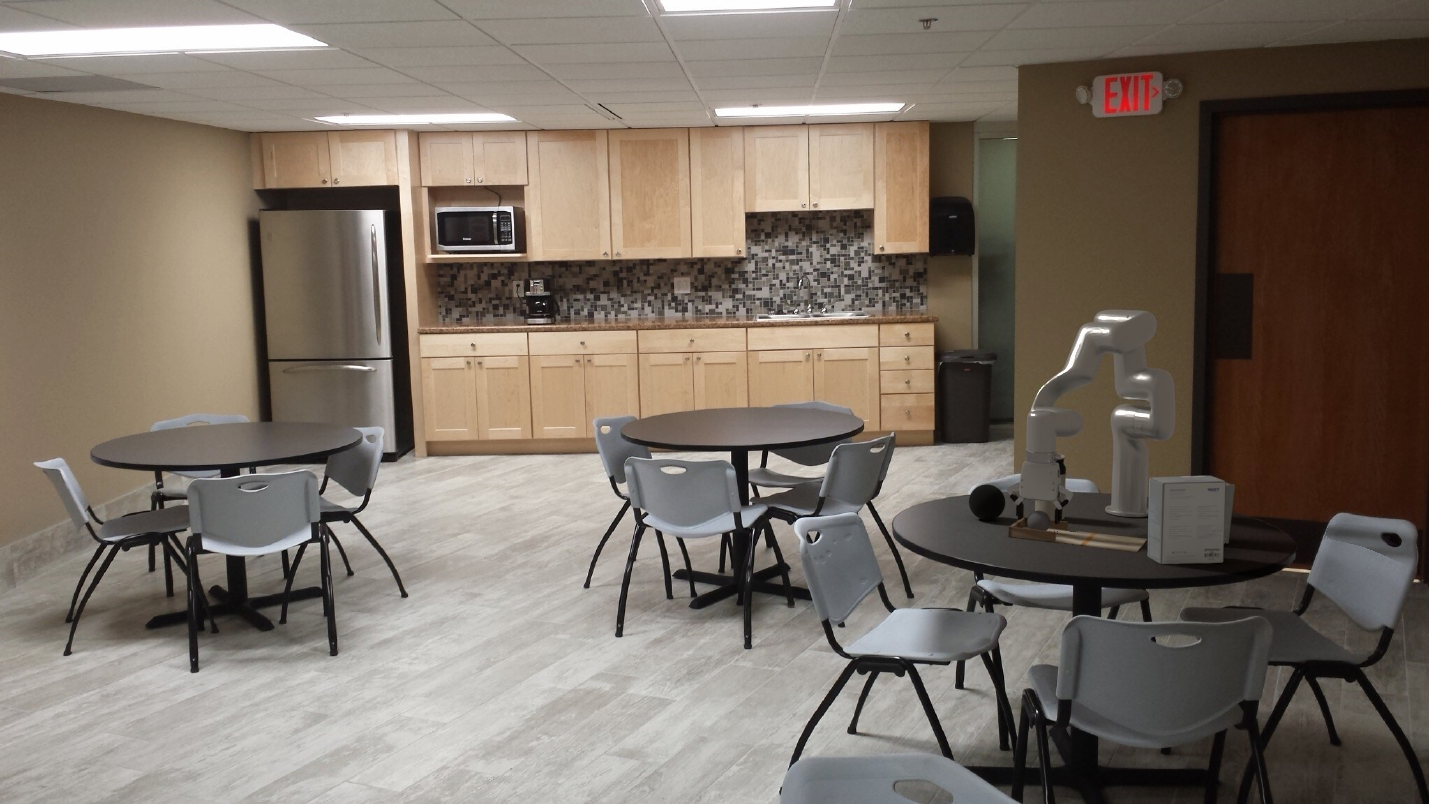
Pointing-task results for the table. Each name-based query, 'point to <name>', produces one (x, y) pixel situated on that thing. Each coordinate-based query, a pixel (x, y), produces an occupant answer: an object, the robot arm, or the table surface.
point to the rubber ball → (1038, 521)
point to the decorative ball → (987, 502)
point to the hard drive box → (1186, 519)
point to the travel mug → (1050, 507)
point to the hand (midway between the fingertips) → (1038, 521)
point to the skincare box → (1228, 510)
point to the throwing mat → (1075, 536)
